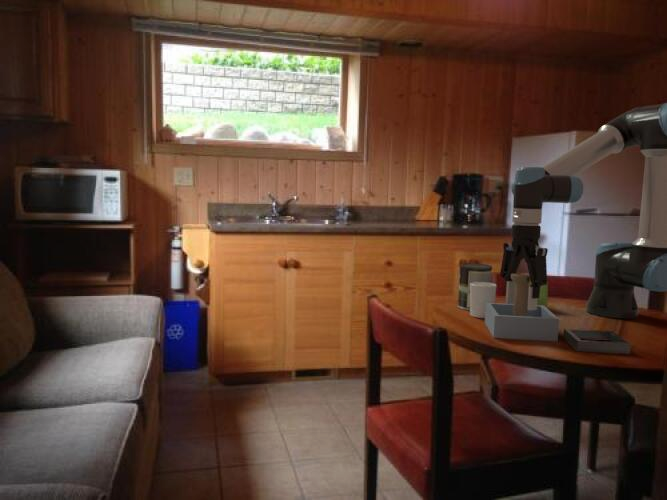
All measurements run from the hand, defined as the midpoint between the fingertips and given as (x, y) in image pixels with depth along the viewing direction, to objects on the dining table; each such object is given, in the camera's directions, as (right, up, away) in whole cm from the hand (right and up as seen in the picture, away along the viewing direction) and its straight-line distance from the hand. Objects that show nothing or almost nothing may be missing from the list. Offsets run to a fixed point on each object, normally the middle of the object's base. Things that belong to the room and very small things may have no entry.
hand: (520, 306), depth 157 cm
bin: (0, -7, +1) cm, 7 cm away
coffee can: (-6, -4, +30) cm, 30 cm away
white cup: (-6, -5, +19) cm, 20 cm away
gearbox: (+12, -3, +34) cm, 37 cm away
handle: (0, -6, +1) cm, 6 cm away
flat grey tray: (+16, -9, -11) cm, 21 cm away
